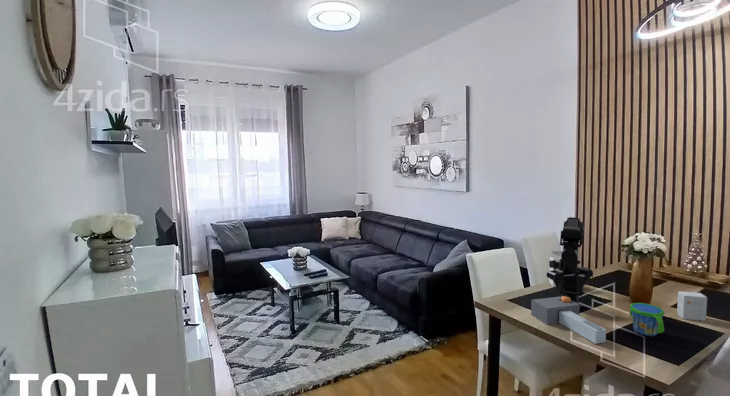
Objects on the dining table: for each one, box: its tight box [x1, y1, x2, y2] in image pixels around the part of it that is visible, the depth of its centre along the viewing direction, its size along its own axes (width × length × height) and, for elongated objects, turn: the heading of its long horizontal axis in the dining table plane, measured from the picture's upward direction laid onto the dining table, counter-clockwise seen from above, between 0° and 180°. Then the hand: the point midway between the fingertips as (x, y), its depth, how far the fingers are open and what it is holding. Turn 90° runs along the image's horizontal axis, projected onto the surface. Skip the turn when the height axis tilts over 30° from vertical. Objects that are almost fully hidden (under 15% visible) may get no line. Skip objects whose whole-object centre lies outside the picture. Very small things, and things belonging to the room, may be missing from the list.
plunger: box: [561, 295, 571, 303], centre depth 160 cm, size 4×4×3 cm
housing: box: [530, 295, 581, 325], centre depth 159 cm, size 16×10×7 cm, turn 102°
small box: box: [676, 290, 708, 322], centre depth 156 cm, size 8×6×10 cm
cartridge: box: [558, 310, 607, 345], centre depth 145 cm, size 4×19×5 cm, turn 12°
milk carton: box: [548, 250, 563, 288], centre depth 199 cm, size 7×7×19 cm
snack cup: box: [629, 302, 665, 337], centre depth 144 cm, size 16×10×10 cm
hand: (569, 293), depth 156 cm, fingers open, 9 cm apart
